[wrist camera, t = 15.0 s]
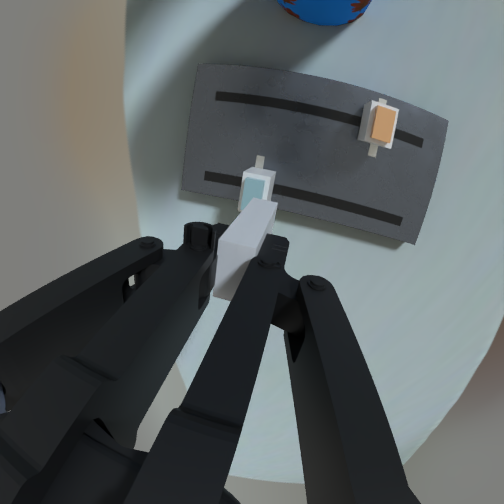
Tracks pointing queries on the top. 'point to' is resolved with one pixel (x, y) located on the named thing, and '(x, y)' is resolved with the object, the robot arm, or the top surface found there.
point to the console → (311, 148)
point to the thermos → (326, 10)
